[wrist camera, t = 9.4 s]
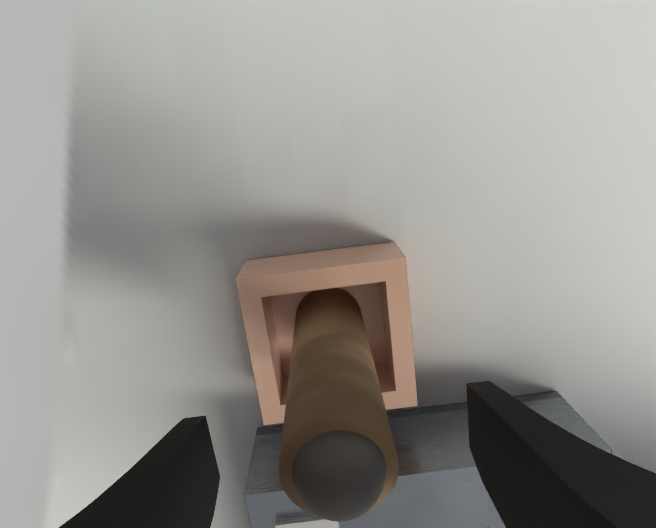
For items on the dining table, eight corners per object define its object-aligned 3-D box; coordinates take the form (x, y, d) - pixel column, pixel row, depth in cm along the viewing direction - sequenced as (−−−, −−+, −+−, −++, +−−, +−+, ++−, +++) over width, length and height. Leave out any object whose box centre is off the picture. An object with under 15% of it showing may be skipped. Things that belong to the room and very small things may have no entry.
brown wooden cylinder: (361, 285, 19) (408, 446, 9) (361, 346, 19) (406, 553, 10) (294, 287, 19) (270, 451, 9) (297, 348, 19) (278, 559, 10)
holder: (394, 241, 18) (405, 257, 16) (405, 373, 20) (417, 406, 18) (245, 260, 19) (235, 279, 16) (269, 390, 20) (263, 425, 18)
